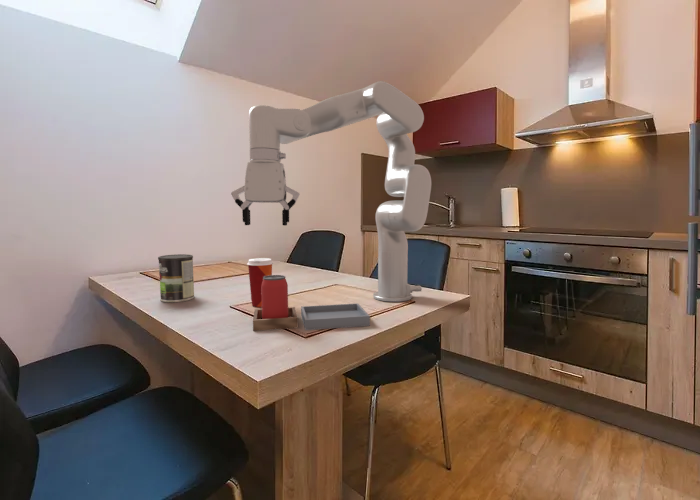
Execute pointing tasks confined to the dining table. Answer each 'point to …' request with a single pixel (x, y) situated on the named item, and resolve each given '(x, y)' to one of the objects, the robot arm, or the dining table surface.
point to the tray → (334, 316)
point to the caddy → (275, 321)
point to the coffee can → (176, 278)
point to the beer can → (274, 297)
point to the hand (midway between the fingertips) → (266, 225)
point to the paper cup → (258, 277)
